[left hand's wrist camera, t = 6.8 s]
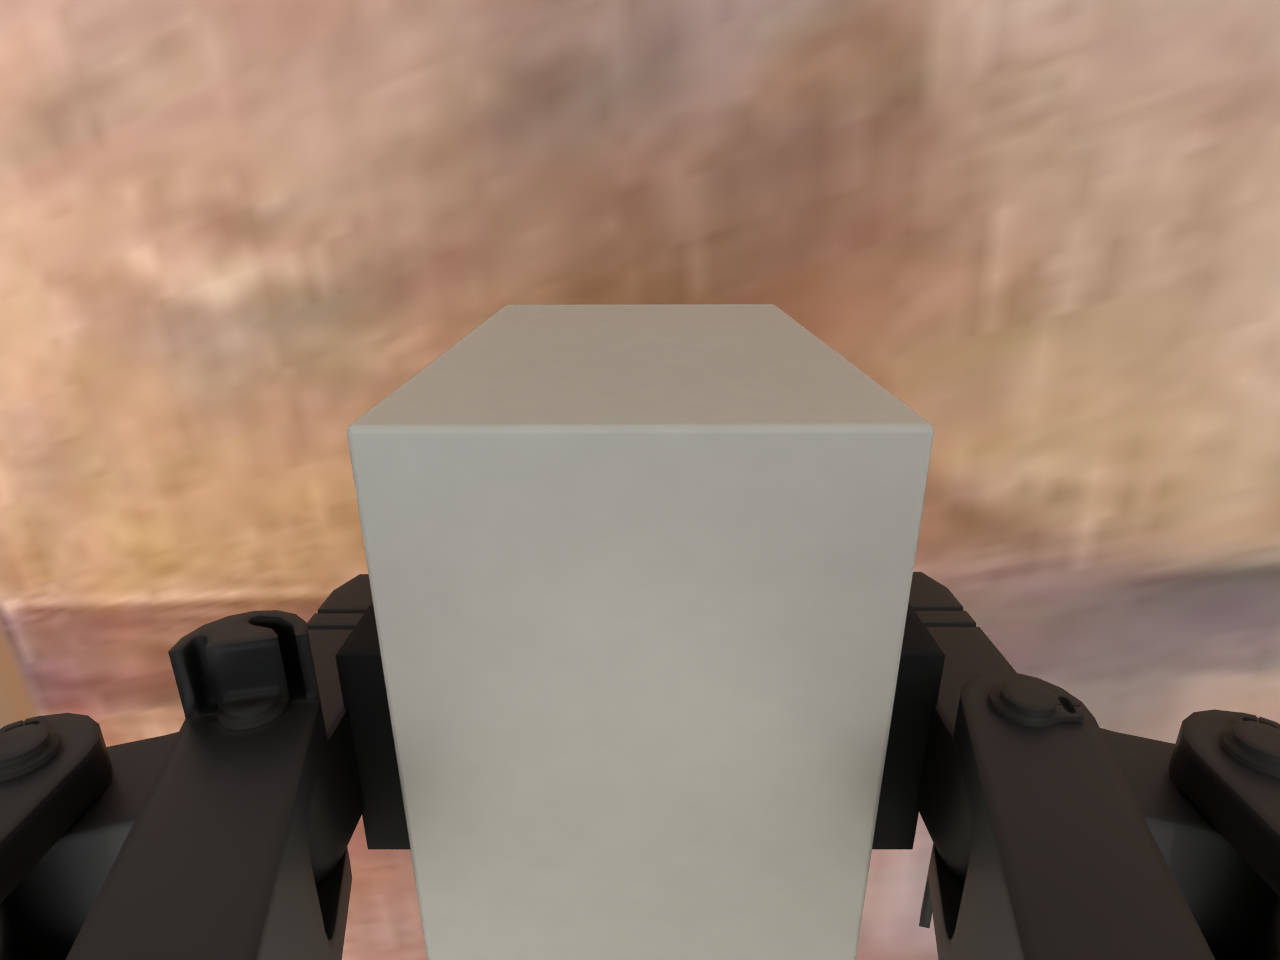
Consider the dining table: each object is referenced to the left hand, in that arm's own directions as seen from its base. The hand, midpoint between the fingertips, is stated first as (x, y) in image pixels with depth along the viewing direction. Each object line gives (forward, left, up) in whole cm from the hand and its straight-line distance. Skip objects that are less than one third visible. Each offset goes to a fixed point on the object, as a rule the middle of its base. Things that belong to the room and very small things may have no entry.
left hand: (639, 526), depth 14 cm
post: (-33, +7, -1) cm, 34 cm away
